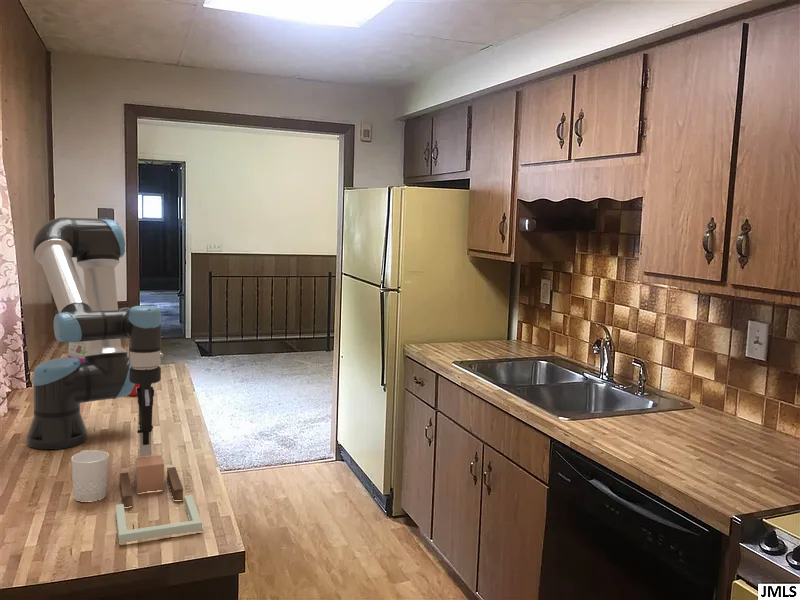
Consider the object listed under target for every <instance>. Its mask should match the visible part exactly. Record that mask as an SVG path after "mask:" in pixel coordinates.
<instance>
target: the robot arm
mask: <svg viewBox="0 0 800 600" xmlns="http://www.w3.org/2000/svg"><path fill="white" fill-rule="evenodd" d="M32 252H33V255H34V257H35V260H36V262H37V263H38V264H40V265H41V266H42V268H43V271H44V274H45V277H46V281H47V283H48V285H49V289H50V291H51V295H52V297H53V300H54V303H55V306H56V308H57V311H58V313H57V314H55V316H54V318H53V332H54V338H55V339H56V340H57V341H58V342H59V343H68V342H83V341H89V347H90V349H89V351H88V352H87V353H86V355H85V362H80V361H79V359H78V358H75V357H66V356H65V357H58V358H57V357H56V358H53V359H49V360H46V361H42V362H41V363H39V364H37V365H36V366H35V368H34V369H33V376H32V385H33V389H32V390H33V418H32V422H31V424H30V427H29V429H28V433H27V436H26V443H27V444H28V445H29V446H31V447H34V448H38V449H37V450H41V449H55V450H64V449H68V448H72V447H77V446H78V445H81V444H83V443H84V442H86V441H87V439H88V430H87V428H86V424H85V422H84V419H83V417H82V414H81V404H82V403H90V402H95V401H96V402H97V401H104V400H115V399H119V398H124V397H128V396H127V395H129V394H130V393H131V392H132V390H133V387H134V384H140V388H137V395H138V397H137V404H138V425H139V427H138V428H139V429H137V434H139V457H148V456H152V431H153V429H154V425H153V406H154V397H155V389H154V386H152V385H153V384H156V383H159V382H160V381H161V379H162V375H161V374H162V368H161V366H160V365H161V364H162V363H161V362H162V359H161V358H162V357H163V356H164V353H163V352H162V351H161V350H162V348H161V347H162V321H163V320H162V315H161V314H162V313H161V308H159V307H158V306H154V305H135V306H132V307H122V308H120V309H119V306H118V294H117V281H116V270H115V268H116V267H117V266H118V265H119V263H120V258H122V257H124V255H125V253H126V240H125V236H124V232H123V230H122V227H121V226H120V224H119V223H118V222H117V221H115V220H113V219H105V218H104V219H103V218H101V217H100V218H93V217H92V218H88V217H85V218H84V217H83V218H82V217H79V218H78V217H63V216H62V217H58V218H54V219H52V220H49V221H48V222H46V223H45V224H43V225H42V226H41V227H40V229H38V231H37V232H36V233H35V236H34V239H33V242H32ZM72 258H76V265H77V266H78V267H80V268H81V269H82V270H83V271H82V272H83V284H84V287H83V285H82V282H81V279H80V276H79V274H78V272H77V269H76V266H75V263H74V260H73V259H72ZM121 339H128V341H129V350H126V349H125V348H124V347H122V341H121ZM128 352H129V353H128ZM85 440H86V441H85ZM28 445H27V446H28ZM29 446H28V447H29ZM31 447H30V448H31ZM34 448H33V449H34ZM63 448H64V449H63Z"/></svg>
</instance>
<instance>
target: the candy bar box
mask: <svg viewBox="0 0 800 600" xmlns="http://www.w3.org/2000/svg"><path fill="white" fill-rule="evenodd" d="M89 349H90V347H89V341H83V342H67V353H68V354H67V356H68V357H75V358H78V359H79V361H80V362H85V355H86V353H87V352H88V351H89ZM68 357H67V358H68Z"/></svg>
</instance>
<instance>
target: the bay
mask: <svg viewBox="0 0 800 600" xmlns="http://www.w3.org/2000/svg"><path fill="white" fill-rule="evenodd" d="M183 501H184V503H183V504H185V506H184V508H185V507H186V509H185V511H186V510H187V512H188V515H189V518H190V521H189V520H186V521H181V522H179V521H178V522H174V523H167V524H166V523H165V524H161V525H152V526H146V527H141V528H134V529H128V526H127V518H126V512H125V511H126V510H125V509H124V504H122V503H120V504H115V521H116V520H117V522H116V529H118V532H117V538H119V541H118V544H119V543H124V542H131V541H136V540H142V539H148V538H154V537H158V536H165V535H173V534H180V533H187V532H195V531H196V532H197V531H202V532H203V521H202V518H201V517H200V516H201V515H200V513H199V511H198V508H197V505H196V502H195V499H194V497H193V495H192V494H188V495H187V494H186V495H184V496H183ZM187 512H186V513H187ZM188 515H187V516H188ZM189 518H188V519H189Z"/></svg>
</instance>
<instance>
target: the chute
mask: <svg viewBox="0 0 800 600" xmlns="http://www.w3.org/2000/svg"><path fill="white" fill-rule="evenodd" d="M166 480H168V481H167V484H168V483H169V484H168V487H169V486H170V488H169V490H170V489H171V491H170V494H171V493H172V494H171V497H172V496H173V498H172V500H173V499H174V500H183V501H184V487H183V484H182V481H181V479H180V476H179V473H178V470H177V467H176V466H173V467H166ZM120 490H121V492H120V498H122V499H121V504H124V507H129V506H132V507H133V491H132V486H131V479H130V474H129V472H128V471H127V472H120V473H119V491H120Z"/></svg>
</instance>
